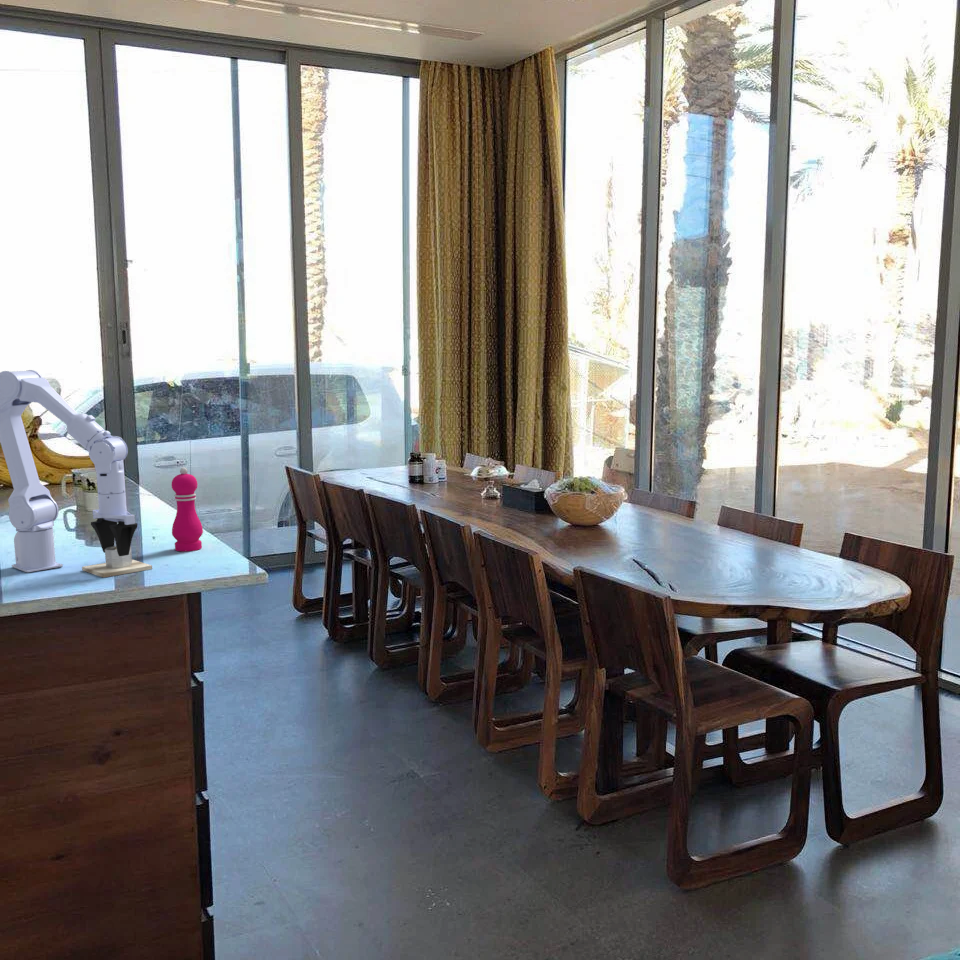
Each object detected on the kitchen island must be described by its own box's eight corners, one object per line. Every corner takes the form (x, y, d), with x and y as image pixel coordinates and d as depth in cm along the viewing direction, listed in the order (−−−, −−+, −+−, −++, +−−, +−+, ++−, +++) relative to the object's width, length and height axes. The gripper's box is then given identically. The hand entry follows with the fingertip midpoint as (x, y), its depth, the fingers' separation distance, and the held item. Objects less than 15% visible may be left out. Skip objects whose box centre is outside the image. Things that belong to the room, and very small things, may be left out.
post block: (82, 570, 218) (80, 552, 218) (129, 562, 226) (128, 544, 225) (103, 577, 210) (102, 559, 210) (152, 568, 218) (151, 551, 218)
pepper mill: (210, 547, 241) (205, 466, 238) (187, 553, 235) (182, 469, 232) (189, 545, 245) (184, 465, 242) (166, 550, 239) (161, 468, 236)
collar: (108, 564, 220) (107, 546, 220) (133, 562, 222) (131, 544, 221) (105, 568, 215) (103, 550, 215) (130, 567, 216) (128, 549, 216)
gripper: (77, 492, 218) (82, 552, 219) (111, 497, 208) (116, 560, 210) (107, 488, 223) (112, 547, 225) (142, 493, 213) (146, 555, 215)
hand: (116, 553), depth 218 cm, fingers open, 6 cm apart
